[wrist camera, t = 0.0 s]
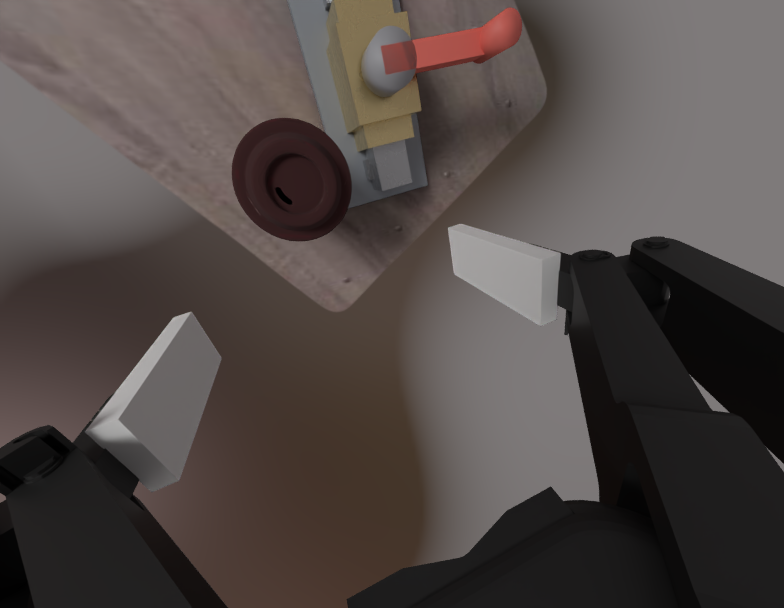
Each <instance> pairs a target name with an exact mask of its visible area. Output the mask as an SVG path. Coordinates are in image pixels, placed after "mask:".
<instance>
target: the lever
mask: <svg viewBox="0 0 784 608" xmlns="http://www.w3.org/2000/svg"><path fill="white" fill-rule="evenodd" d="M521 31H522V20H521V17H520V14H519V13H518V11H517V10H516V9H514V8H507V9H505V10H504V11H502V12H501V13H500V14H498V15H497V16H496V17H494V18H493V19H492V20H490V21H489V22H488V23H486V24H485V25H484V26H482V27H480V28H475V29H469V30H464V31H459V32H453V33H448V34H443V35H437V36H432V37H427V38H421V39H416V40H412V39H411V38H410V36H409V35H408V34H407V33H406V32H405V31H404V30H403V29H401V28H399V27H396V26H386V27H383V28H382V29H380V30H379V31H378V32H377V33H376V34H375V36H374V37H373V39H372V40H371V42H370V43H369V45H368V47H367V48H366V50H365V52H364V54H363V56H362V61H361V71H362V76H363V79H364V82H365V84H366V85H367V87H368V88H369V89H370V91H372V92H373V93H374V94H376V95H377V96H380V97H389V96H392V95H394V94H395V93H396V92H398V91H399V90H401V89H402V88H403V87H405V86H406V85H407V84H408V83H409V82H410V81H411V80H412V78H413V76H414V74H415V73H420V72H425V71H429V70H434V69H439V68H444V67H448V66H453V65H458V64H463V63H467V62H472V61H473V62H475V63H477V64H480V63H483V62H485V61H486V60H488V59H490V58H492V57H494V56H495V55H497V54H499V53H501V52H503V51H504V50H506V49H508V48H510V47H511V46H513V45H515V44H516V42H517V41H518V40H519V38H520V35H521Z"/></svg>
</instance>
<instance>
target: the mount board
mask: <svg viewBox="0 0 784 608" xmlns="http://www.w3.org/2000/svg"><path fill="white" fill-rule="evenodd" d="M392 2H393V9H394V13H399V12H401V9H400V2H399V0H392ZM287 3H288V7H289V10H290V13H291V17H292V20H293V24H294V27H295V31H296V34H297V38H298V41H299V45H300V48H301V51H302V55H303V58H304V62H305V65H306V69H307V72H308V76H309V79H310V82H311V86H312V89H313V93H314V96H315V100H316V103H317V107H318V110H319V114H320V117H321V120H322V124H323V127H324V131H325V133H326V134H327V135H328V136H329V137H330V138H331V139H332V140H333V141H334V142H335V143H336V144H337V146H338V147H339V149H340V150H341V152H342V153H343V155H344V157H345V159H346V161H347V164H348V167H349V170H350V174H351V181H352V194H351V200H350V204H349V207H348V208H352V207H355V206H359V205H362V204H365V203H369V202H372V201H376V200H379V199H383V198H386V197H389V196H393V195H396V194H400V193H403V192H407V191H410V190H413V189H417V188H420V187H424V186H427V185H428V184H427V177H426V171H425V164H424V158H423V151H422V145H421V138H420V132H419V125H418V119H417V113H415V114H413V115H411V119H412V125H413V131H414V137H412V138H408V139H405V145H406V150H407V156H408V162H409V167H410V173H411V178H412V183H409V184H405V185H402V186H398V187H395V188H391V189H388V190H384V191H380V190H374V188H373V184H372V180H367V178H366V174H365V170H364V166H363V162H362V160H366V159H367V158H366V154H365V150H362V151H357V147H356V143H355V139H354V135H353V132H351V133H347V130H346V126H345V122H344V118H343V115H342V111H341V107H340V103H339V99H338V95H337V91H336V87H335V84H334V80H333V76H332V72H331V68H330V64H329V60H328V56H327V53H326V50H327V47H328V44H329V41H330V39H329V35H328V31H327V27H326V22H327V18H328V14H329V10H325V8H324V4H323V0H287Z"/></svg>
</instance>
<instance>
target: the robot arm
mask: <svg viewBox="0 0 784 608" xmlns="http://www.w3.org/2000/svg"><path fill="white" fill-rule="evenodd" d="M448 232H449V240H450V247H451V255H452V262H453V270H454V274H455V275H456V276H458V277H460V278H461V279H463V280H465V281H466V282H468V283H470V284H471V285H473V286H475V287H476V288H478V289H480V290H481V291H483V292H485V293H486V294H488V295H489V296H491V297H493V298H494V299H496V300H498V301H500V302H501V303H503V304H504V305H506V306H508V307H509V308H511V309H513V310H514V311H516V312H518V313H519V314H521V315H523V316H524V317H526V318H528V319H529V320H531V321H533V322H534V323H536V324H538V325H539V326H543V325H545V324H548V323H550V322H552V321H555V320H557V311H558V306H560V307H562V308H564V309H566V321H565V335H568V333H569V338H570V343H571V348H572V353H573V357H574V363H575V367H576V373H577V377H578V383H579V387H580V393H581V398H582V403H583V407H584V413H585V417H586V423H587V428H588V432H589V437H590V443H591V448H592V453H593V458H594V463H595V467H596V473H597V477H598V484H599V502H596V501H585V500H572V501H571V500H570V501H563V500H562V499H561V498H560V497H559V496H558V494H557V493H556V492H555V491H554V490H553V488H552V487H549V488H547V489H546V490H544V491H542V492H540V493H539V494H537V495H535V496H533V497H531V498H529V499H527V500H526V501H524V502H522V503H520V504H518V505H517V506H515V507H513V508H511V509H509V510H507V511H506V512H505V513H504V514H503V515H502V516H501V518H500V519H499V520H498V521H497V522H496V523H495V524H494V525H493V526H492V528H491V529H490V530H489V531H488V532H487V533H486V534H485V535H484V536H483V537H482V538H481V540H480V541H479V542H478V543H477V544H476V545H475V546H474V547H473V548H472V549H471V550H470V552H469V553H467V554H466V555H465V556H463V557H460V558H456V559H451V560H445V561H440V562H435V563H430V564H424V565H419V566H413V567H408V568H403V569H401V570H399V571H397V572H396V573H394V574H392V575H390V576H388V577H386V578H385V579H383V580H381V581H379V582H377V583H376V584H374V585H372V586H370V587H368V588H367V589H365V590H363V591H361V592H359V593H357V594H356V595H354V596H352V597H350V598H348V599H347V604H348V608H784V472H783V471H782V469H781V468H780V466H779V465H778V464H777V462H776V461H775V459H774V458H773V457H772V455H771V454H770V453H769V451H768V450H767V448H768V449H769V450H770V451H771V452H772V453H773V454H774V455H775V456H776V457H777V458H778V459H779V460H781V462H782V463H784V287H783V286H780V285H778V284H776V283H773V282H771V281H769V280H767V279H764V278H762V277H760V276H758V275H755V274H753V273H751V272H748V271H746V270H744V269H741V268H739V267H737V266H735V265H733V264H730V263H728V262H726V261H723V260H721V259H719V258H717V257H714V256H712V255H710V254H708V253H705V252H703V251H701V250H698V249H696V248H694V247H692V246H689V245H687V244H685V243H682V242H680V241H677V240H674V239H670V238H665V237H650V238H644V239H639V240H636V241H634V242H633V243H632V245H631V251H630V255H625V256H620V257H615V256H614V255H613V254H612V253H610V252H607V251H600V250H585V251H579V252H576V253H574V254H572V255H568V254H565V253H562V252H558V251H555V250H549V249H548V248H544V247H541V246H538V245H534V244H528V243H524V242H521V241H518V240H515V239H511V238H508V237H504V236H501V235H497V234H494V233H491V232H487V231H484V230H480V229H477V228H474V227H470V226H467V225H463V224H458V225H455V226H452V227H449V228H448ZM669 295H670V298H669ZM221 359H222V358H221V357H220V355H219V353H218V352H217V350H216V349H215V347H214V346H213V344H212V342H211V341H210V339H209V338H208V336H207V335H206V333H205V332H204V330H203V329H202V327H201V325H200V324H199V322H198V321H197V319H196V318H195V316H194V315H193V313H192V312H189V313H186V314H183V315H180V316H177V317H174V318H173V319H172V320H171V322H170V323H169V324H168V325H167V327H166V328H165V329H164V331H163V332H162V333H161V335H160V336H159V337H158V338H157V340H156V341H155V342H154V343H153V345H152V346H151V347H150V349H149V350H148V351H147V352H146V354H145V355H144V356H143V358H142V359H141V360H140V361H139V363H138V364H137V365H136V367H135V368H134V369H133V370H132V372H131V373H130V374H129V376H128V377H127V378H126V379H125V381H124V382H123V383H122V385H121V386H120V387H119V388H118V390H117V391H116V392H115V393H114V394H112V395H111V396H110V397H109V398H108V399H107V400H106V401H105V403H104V404H103V405H102V406H101V408H100V409H99V410H100V411H98V412H97V413H96V414H95V415H94V417H93V418H92V421H90V422H89V423H88V424H87V425H86V427H85V428H84V429H83V430H82V432H81V433H80V435H79V436H78V437H77V438H76V439H75V441H74V442H73V443H72V442H71V441H70V440H68V439H67V438H66V437H65V436H64V435H62V434H61V433H60V432H59V431H58V430H57V429H55V428H54V427H53V426H50V425H47V426H43V427H39V428H36V429H34V430H31V431H29V432H27V433H25V434H23V435H21V436H19V437H17V438H15V439H13V440H12V441H11V442H9V443H7V444H6V445H4V446H3V447H1V448H0V493H1V494H3V495H5V496H6V500H5V501H3V502H1V503H0V608H228V607H227V606H226V605H225V604H224V602H223V601H222V600H221V599H220V597H219V596H218V595H217V594H216V592H215V591H214V590H213V589H212V588H211V586H210V585H209V584H208V583H207V581H206V580H205V579H204V578H203V577H202V575H201V574H200V573H199V572H198V571H197V569H196V568H195V567H194V566H193V564H192V563H191V562H190V561H189V559H188V558H187V557H186V556H185V555H184V553H183V552H182V551H181V550H180V548H179V547H178V546H177V545H176V544H175V543H174V541H173V540H172V539H171V537H170V536H169V535H168V534H167V533H166V531H165V530H164V529H163V528H162V526H161V525H160V524H159V523H158V522H157V520H156V519H155V518H154V517H153V515H152V514H151V513H150V512H149V511H148V509H147V508H146V507H145V506H144V505H143V503H142V502H141V501H140V500H139V499H138V498H137V497H135V496H134V495H133V492H134V490H135V488H136V486H137V484H138V481H140V482H141V483H142V484H143V485H144V486H145V487H146V488H148V489H149V490H150V491H151V492H154V491H156V490H158V489H161V488H163V487H165V486H168V485H170V484H172V483H175V482H177V481H179V479H180V477H181V473H182V471H183V468H184V465H185V462H186V459H187V456H188V453H189V451H190V448H191V445H192V442H193V439H194V436H195V434H196V431H197V428H198V425H199V422H200V419H201V416H202V413H203V411H204V407H205V405H206V402H207V399H208V396H209V393H210V390H211V388H212V385H213V382H214V379H215V376H216V373H217V370H218V367H219V364H220V362H221ZM689 374H690V375H691V376H692V377H693V378H694V379H695V380H696V381H697V382H698V383H699V384H700V385H701V386H702V387H704V389H705V390H706V391H708V392H709V393H710V394H711V395H712V396H713V397H714V398H715V399H716V400H717V401H718V402H719V403H720V404H721V405H722V406H723V407H725V408H726V409H727V410H728V411H729V412H730V413H726V412H718V411H712V409H711V408H710V407H709V405H708V404H707V402H706V401H705V399H704V397H703V396H702V394H701V393H700V391H699V389H698V388H697V386H696V385H695V383H694V381H693V380H692V378H691V377H690V375H689ZM764 445H765V446H766V447H767V448H766V447H765V446H764Z"/></svg>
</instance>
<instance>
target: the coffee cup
mask: <svg viewBox="0 0 784 608" xmlns="http://www.w3.org/2000/svg"><path fill="white" fill-rule="evenodd" d="M232 181H233V187H234V191H235V194H236V196H237V199H238V201H239V203H240V205H241V207H242V208H243V210H244V211H245V213H246V214H247V215H248V216H249V218H250V219H251V220H252V221H253V222H254V223H255V224H256V225H258V226H259V227H260V228H261V229H263V230H264V231H266V232H268V233H270V234H271V235H273V236H276V237H278V238H281V239H285V240H289V241H309V240H314V239H317V238H319V237H322V236H324V235H326V234H327V233H329V232H330V231H332V230H333V229H334V228H335V227H336V226H337V225H338V224H339V223H340V222H341V220H342V219H343V217H344V216H345V214H346V212H347V210H348V207H349V204H350V200H351V194H352V181H351V174H350V170H349V167H348V164H347V161H346V159H345V157H344V155H343V153H342V152H341V150H340V149H339V147H338V146H337V144H336V143H335V142H334V141H333V140H332V139H331V138H330V137H329V136H328V135H327V134H326V133H324V132H323V131H322V130H320V129H319V128H317V127H315V126H314V125H312V124H310V123H307V122H305V121H302V120H298V119H291V118H277V119H271V120H268V121H265V122H262V123H260V124H259V125H257V126H255V127H254V128H253V129H251V130H250V131H249V132H248V133H247V134H246V135H245V136H244V137H243V139H242V140H241V141H240V143H239V145H238V147H237V149H236V152H235V155H234V158H233V163H232Z"/></svg>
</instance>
